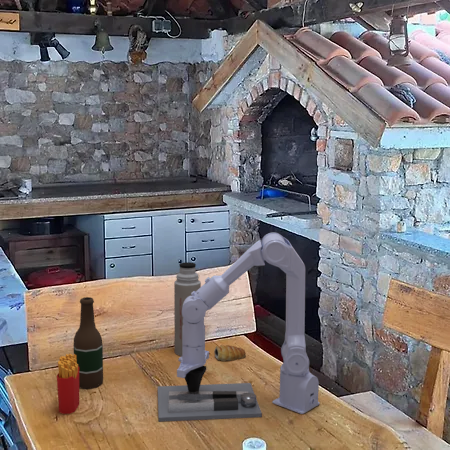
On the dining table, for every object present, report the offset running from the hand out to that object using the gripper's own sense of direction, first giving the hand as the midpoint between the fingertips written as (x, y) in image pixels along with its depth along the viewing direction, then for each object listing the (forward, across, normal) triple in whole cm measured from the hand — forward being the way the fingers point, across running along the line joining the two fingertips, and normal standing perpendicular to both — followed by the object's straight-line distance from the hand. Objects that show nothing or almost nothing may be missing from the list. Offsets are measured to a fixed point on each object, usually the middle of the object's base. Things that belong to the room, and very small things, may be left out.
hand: (193, 394), depth 166 cm
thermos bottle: (+2, -30, -17) cm, 35 cm away
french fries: (+2, +16, -27) cm, 31 cm away
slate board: (+2, -1, +4) cm, 4 cm away
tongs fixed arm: (+1, +5, +5) cm, 7 cm away
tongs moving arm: (+1, +1, +6) cm, 6 cm away
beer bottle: (+2, +2, -31) cm, 31 cm away
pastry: (+2, -32, -4) cm, 32 cm away
